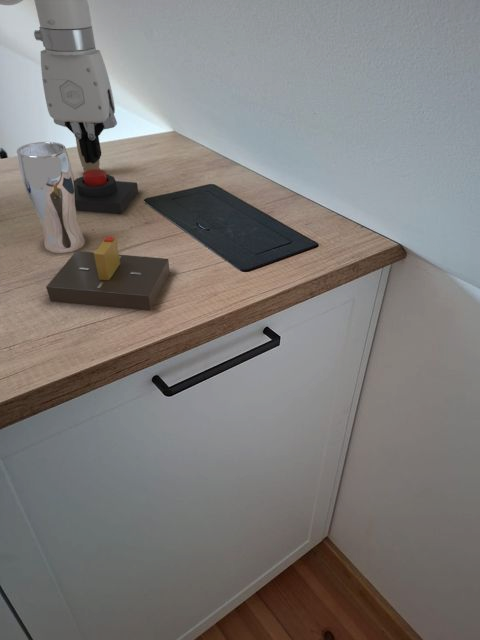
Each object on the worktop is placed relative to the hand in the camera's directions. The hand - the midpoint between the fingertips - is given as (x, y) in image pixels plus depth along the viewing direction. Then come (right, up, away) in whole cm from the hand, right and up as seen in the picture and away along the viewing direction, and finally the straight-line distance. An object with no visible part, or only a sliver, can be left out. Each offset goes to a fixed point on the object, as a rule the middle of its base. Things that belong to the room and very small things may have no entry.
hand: (93, 160), depth 87 cm
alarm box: (0, -6, +5) cm, 8 cm away
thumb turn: (+9, -23, -19) cm, 31 cm away
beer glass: (-2, -17, -8) cm, 19 cm away
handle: (-5, +3, +15) cm, 16 cm away
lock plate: (+9, -25, -17) cm, 32 cm away
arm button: (0, -3, +2) cm, 4 cm away
